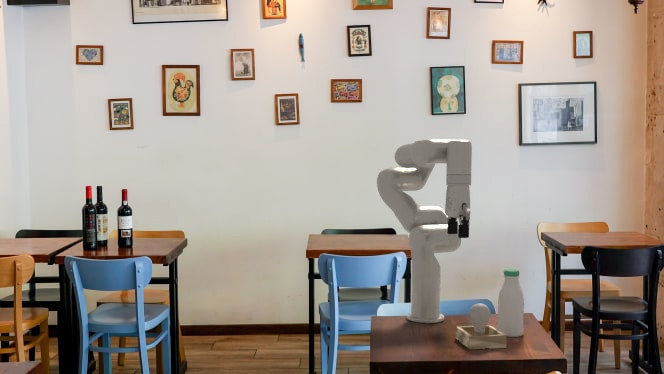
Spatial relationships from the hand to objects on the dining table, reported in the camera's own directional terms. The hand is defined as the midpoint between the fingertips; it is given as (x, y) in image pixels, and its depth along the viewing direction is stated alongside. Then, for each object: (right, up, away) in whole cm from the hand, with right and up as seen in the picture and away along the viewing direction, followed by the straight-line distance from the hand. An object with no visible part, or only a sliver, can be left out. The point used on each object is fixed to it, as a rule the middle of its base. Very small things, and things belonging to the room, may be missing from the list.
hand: (457, 235), depth 221 cm
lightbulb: (+5, -31, -9) cm, 32 cm away
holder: (+5, -31, -10) cm, 33 cm away
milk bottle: (+16, -31, +1) cm, 35 cm away
